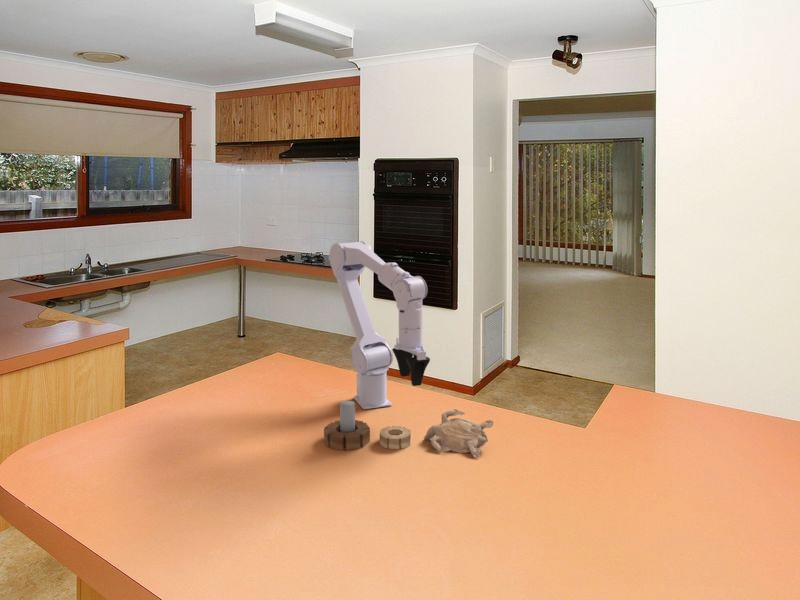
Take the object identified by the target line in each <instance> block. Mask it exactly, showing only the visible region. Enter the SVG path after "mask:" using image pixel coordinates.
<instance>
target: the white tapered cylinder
mask: <svg viewBox="0 0 800 600" xmlns="http://www.w3.org/2000/svg"><path fill="white" fill-rule="evenodd" d="M339 420H340V432H342V433H350V432H355V420H356V404H355V402H354V401H352V400H343V401H341V402H339Z"/></svg>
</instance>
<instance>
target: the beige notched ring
mask: <svg viewBox="0 0 800 600" xmlns="http://www.w3.org/2000/svg"><path fill="white" fill-rule="evenodd" d="M411 443H412V431H411V429H410V428H407V427H405V426H401V425H391V426H385V427H383V428H381V429H380V431H379V445H380V446H381V447H382V448H385V449H388V450H403V449H405V448H408V447H410V446H411Z"/></svg>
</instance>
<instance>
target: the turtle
mask: <svg viewBox="0 0 800 600" xmlns="http://www.w3.org/2000/svg"><path fill="white" fill-rule="evenodd" d="M458 415H459V416H463V415H466V412H464V411H463V410H459V409H450V410H447V411H444V412H442V414H441V422H440V424H433V425H431V426H430V427H429V428H428V430H427V431H426V434H425V435H424V437H423V440H424V441H427V440H428V441H429V440H430V443H431V446H432V447H433V449H435V450H437V451H438V452H440V453H441V452H442V453H446V452H450V451H451V452H453V453H459V454H468V453H471V455H472V456H473V457H474V458H476V459H479V458H480V456H481V450H480V448H482V447H483V446H485V444H486V443H487V442H489V440H488V435H487V434H486V431H485V430H484V429H489V428H492V427H493V426H494V420H490V419H488V420H485V421H483V422H480V423H479V424H478V423H476V422H474V421H472V420H469V419H467V418H461V417H456V418H455V417H454V416H458ZM450 417H453V418H450ZM448 418H450V419H448Z"/></svg>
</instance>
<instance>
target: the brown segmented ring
mask: <svg viewBox="0 0 800 600" xmlns="http://www.w3.org/2000/svg"><path fill="white" fill-rule="evenodd" d="M323 439H324V440H323V441H324V443H325V444H326V446H327V447H329V448H330V449H334V450H338V451H344V450H346V451H352V450H357V449H361V447H362V448H364V447H366V445H367V444H369V442H370V441H371V440H370V439H371V427H370V426H369V425H368V423H367V422H364V421H363V420H357V419H355V432H350V433H342V432H340V419H339V420H334V421H332V422H330V423H328V424H327V425H325V426H324V429H323Z"/></svg>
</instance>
